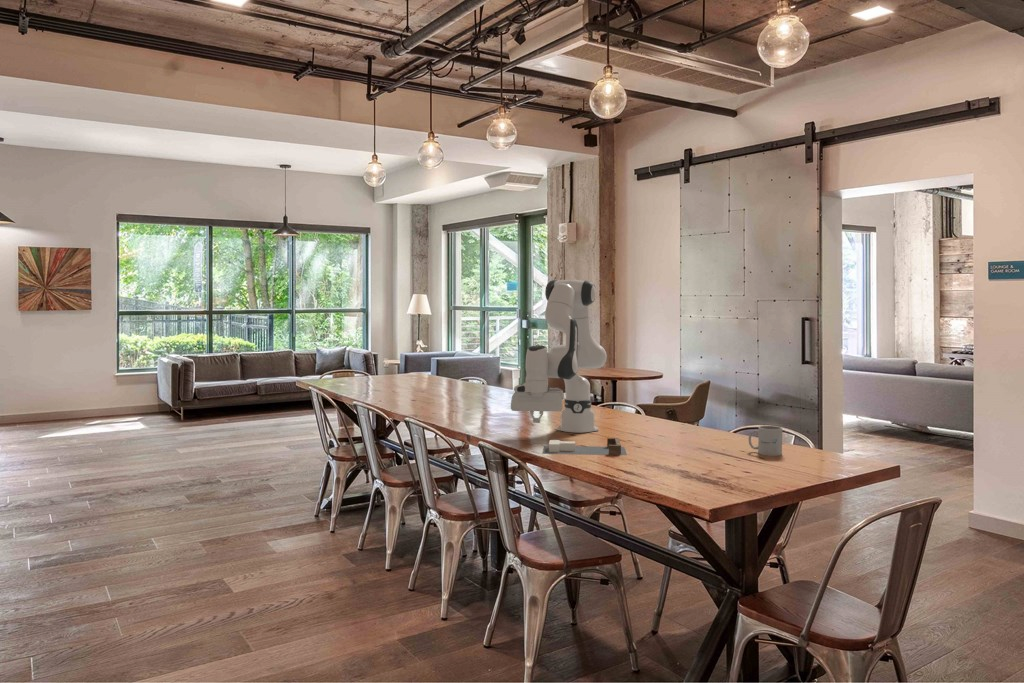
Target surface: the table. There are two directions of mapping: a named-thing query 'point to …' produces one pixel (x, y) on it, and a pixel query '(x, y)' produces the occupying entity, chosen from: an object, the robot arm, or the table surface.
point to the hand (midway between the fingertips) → (536, 422)
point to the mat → (585, 450)
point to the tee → (561, 446)
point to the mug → (768, 440)
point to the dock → (614, 446)
